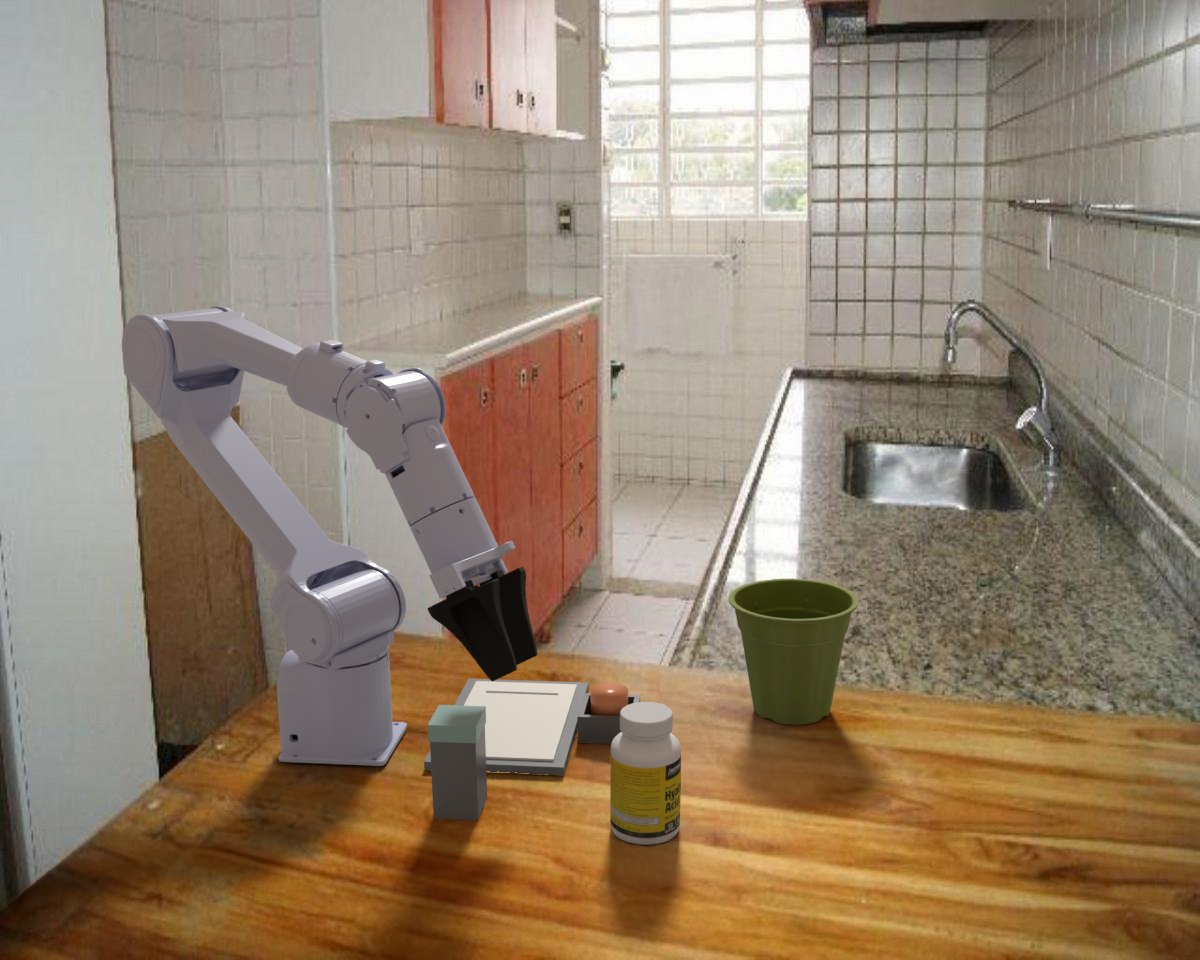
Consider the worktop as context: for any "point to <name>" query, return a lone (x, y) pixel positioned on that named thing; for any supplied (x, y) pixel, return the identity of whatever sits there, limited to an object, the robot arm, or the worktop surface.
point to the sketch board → (526, 723)
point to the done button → (608, 699)
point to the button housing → (598, 723)
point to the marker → (458, 761)
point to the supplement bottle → (645, 775)
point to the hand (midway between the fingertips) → (515, 668)
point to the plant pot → (792, 644)
